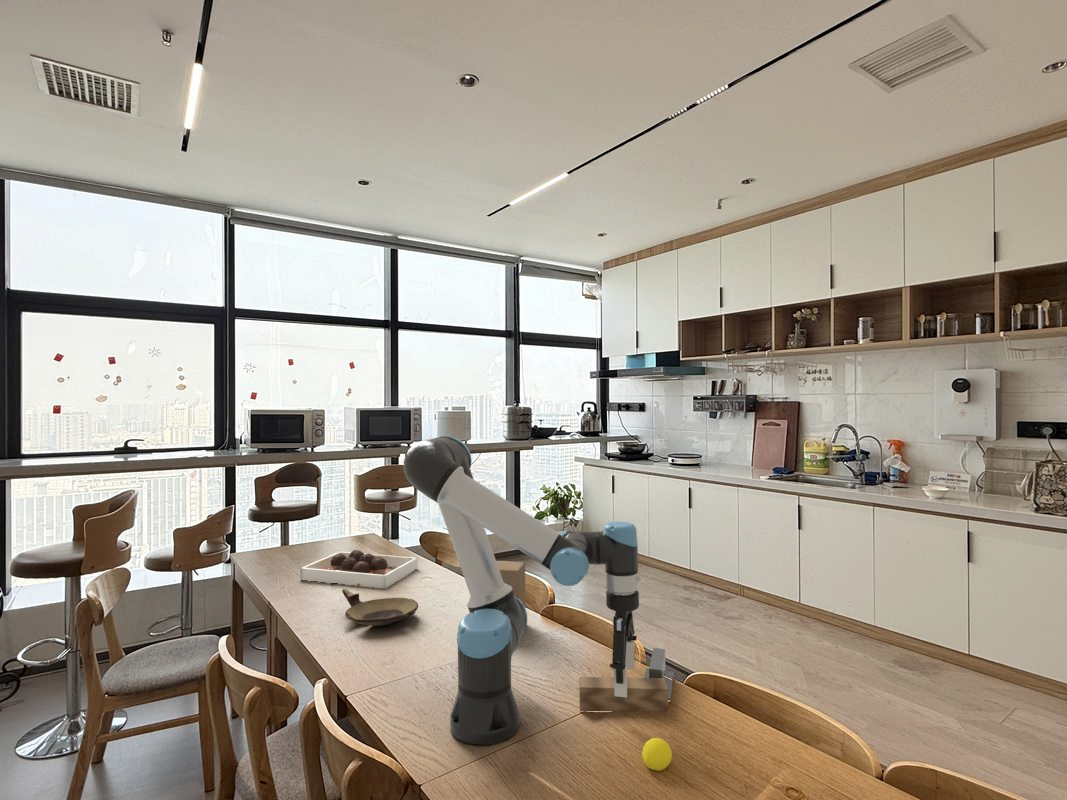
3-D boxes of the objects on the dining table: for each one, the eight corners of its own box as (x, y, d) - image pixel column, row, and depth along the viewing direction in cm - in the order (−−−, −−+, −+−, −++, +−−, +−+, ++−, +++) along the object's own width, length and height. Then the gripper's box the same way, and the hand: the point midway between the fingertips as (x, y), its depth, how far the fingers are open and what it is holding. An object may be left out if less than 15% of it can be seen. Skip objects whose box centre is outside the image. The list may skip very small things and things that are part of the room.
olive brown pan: (363, 643, 172) (363, 617, 172) (329, 614, 196) (329, 591, 196) (431, 625, 185) (431, 601, 185) (392, 599, 209) (392, 578, 209)
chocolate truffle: (322, 573, 242) (322, 553, 242) (358, 565, 254) (358, 546, 254) (358, 588, 223) (358, 566, 223) (395, 578, 235) (395, 557, 235)
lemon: (659, 782, 109) (658, 753, 109) (635, 769, 113) (635, 741, 113) (679, 765, 114) (679, 738, 114) (655, 754, 117) (655, 727, 117)
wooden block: (518, 637, 175) (518, 570, 175) (486, 634, 177) (486, 569, 177) (525, 624, 185) (525, 561, 185) (495, 622, 187) (495, 560, 187)
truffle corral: (385, 589, 221) (385, 575, 221) (300, 580, 231) (300, 568, 231) (417, 569, 245) (417, 557, 245) (339, 562, 256) (339, 551, 256)
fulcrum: (670, 702, 137) (670, 673, 137) (640, 698, 139) (640, 669, 139) (673, 675, 150) (673, 648, 150) (646, 672, 152) (645, 645, 152)
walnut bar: (664, 703, 137) (664, 678, 137) (668, 715, 132) (668, 689, 132) (579, 702, 138) (579, 676, 138) (579, 713, 133) (579, 687, 133)
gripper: (632, 610, 122) (634, 711, 122) (644, 575, 146) (646, 659, 146) (596, 607, 124) (599, 707, 124) (614, 573, 148) (616, 656, 148)
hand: (624, 681), depth 135 cm, fingers open, 13 cm apart
